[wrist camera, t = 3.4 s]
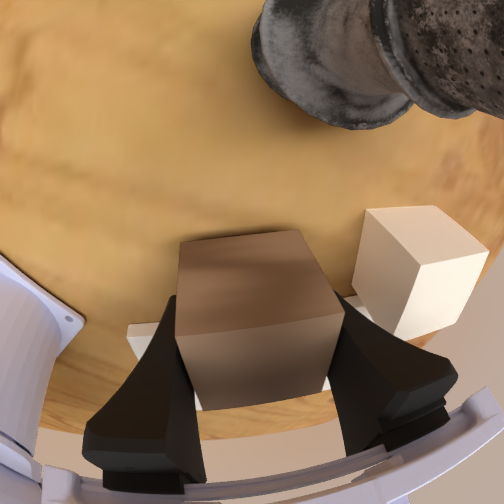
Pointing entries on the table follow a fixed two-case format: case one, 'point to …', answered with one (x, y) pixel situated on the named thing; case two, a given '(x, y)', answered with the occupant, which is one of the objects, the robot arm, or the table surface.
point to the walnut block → (254, 319)
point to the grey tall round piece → (383, 57)
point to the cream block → (415, 269)
